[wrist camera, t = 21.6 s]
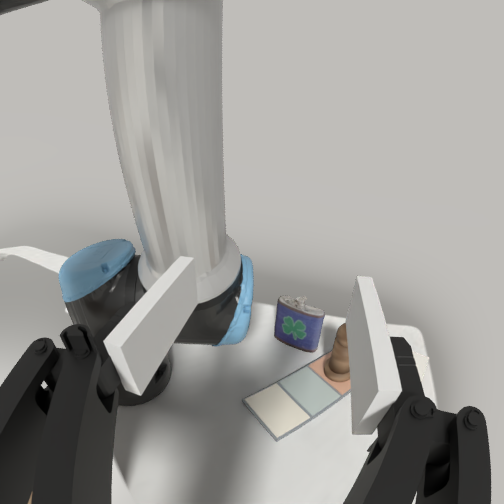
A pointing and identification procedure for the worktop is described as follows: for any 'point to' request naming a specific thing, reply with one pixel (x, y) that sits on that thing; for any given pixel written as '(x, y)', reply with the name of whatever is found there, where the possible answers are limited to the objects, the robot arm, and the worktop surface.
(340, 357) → the pawn
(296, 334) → the flask
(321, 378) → the board
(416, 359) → the white die
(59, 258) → the worktop surface
